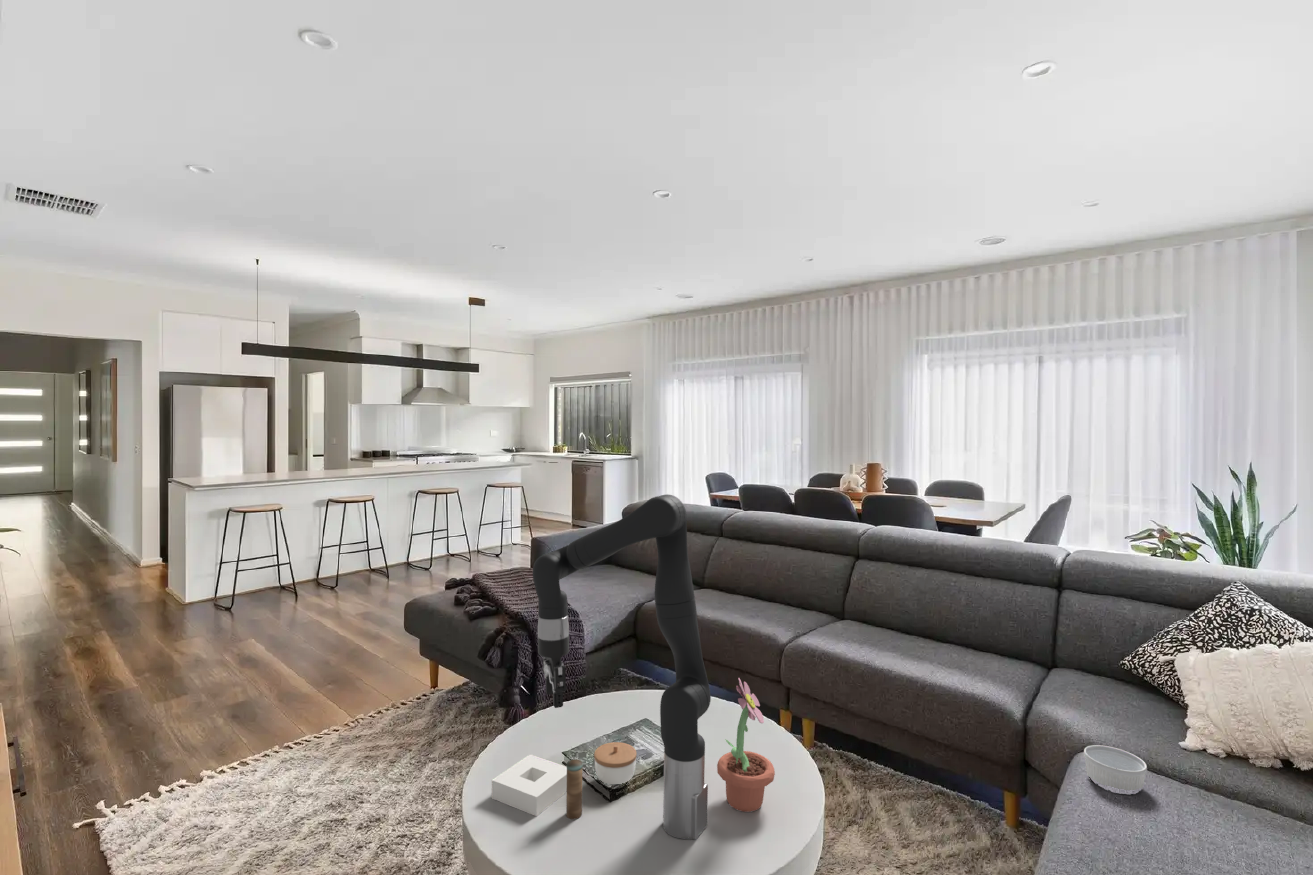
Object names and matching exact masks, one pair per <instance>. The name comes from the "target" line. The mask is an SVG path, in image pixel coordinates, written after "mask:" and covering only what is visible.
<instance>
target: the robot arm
mask: <svg viewBox="0 0 1313 875" xmlns="http://www.w3.org/2000/svg"><path fill="white" fill-rule="evenodd" d="M687 527H688V525H687V511H686V508H685V505H684V503H683V502H682V500H681V499H680V498H678V497H677V496H675V495H672V494H668V493H667V494H663V495H657V496H654V497H651V498H649V499H648V500H647V501H646V502H645V503H643V504H641V505H640V506H638V507H637V508H636V509H635V510H633V511H631V513H629V514H628V515H625V516H624V517H622V518H621V519H620V520H617V521H615V522H614V523H611V524H609V525H607V526H604V527H601V528H598V529H597V530H595V531H592V532H590V533H588V534H586V535H584V536H582V537H579V538H577V539H575V540H574V541H573V540H572V541H571V542H570V543H569V544H567V545H565V546H563V547H560V548H557V549H556V550H553V551H551V552H547V553H545V554H543V555H540V556H539V557H538V558H536V560H535V561H534V563H533V567H532V580H533V583H534V588H535V592H536V595H537V599H538V622H537V653H538V655H539V656H540V657H542V673H543V674H544V679H545V693H546V695H548V696H549V695H552V696H553V697H552V698H553V703H552V704H553V708H555V709H557V708H558V709H559V708H562V707H563V706H564V692H566V691H567V685H566V679H567V678H566V665H564V661H562V658H563V656H566V655H568V654H569V652H570V625H569V624H570V623H569V616H568V609H569V608H568V606H569V605H568V596H567V593H566V592H565V591H564V590H561V585H560V580H562V579H564V578H565V577H567V576H568V577H569V576H570V575H572V574H573V573H576V572H577V571H579V570H581V569H585V568H588V567H590V566H594V565H595V564H597V563H599V562H601V561H603V560H605V559H608V558H609V557H611V556H613V555H615V554H616V553H618V552H619V551H621V550H623V549H625V548H627V547H629V546H631V545H634V544H637V543H639V542H643V541H646V540H651V539H655V541H656V547H657V567H656V575H655V583H654V604H655V613H656V620H657V625H658V628H659V630H660V632H661V633H662V635H663V637H664V639H665V641H666V642H667V644H668V645H669V648H670V649H671V650H670V651H671V652H672V655H673V660H674V668H675V681H674V682H673V683H672V684H671V685H669V686H668V687H667V688H665V690H664V691H663V693H662V694H661V699H660V704H659V706H660V707H659V708H660V709H659V711H660V712H659V716H660V718H659V719H660V720H659V721H660V737H661V741H662V743H663V803H662V805H663V807H662V808H663V812H662V813H663V814H662V820H663V822H662V824H663V827H662V828H663V830H664V831H665V832H666V833H667V834H668V835H669V836H672V837H674V838H677V839H684V840H685V839H692V840H697V839H698V838H699V836H700V835H701V833H703V831H704V830H706V828H707V826H708V800H709V799H708V798H709V797H708V794H709V792H708V791H709V790H708V789H709V785H708V784H707V783H705V764H706V763H705V762H706V761H705V759H706V758H705V755H706V754H705V753H706V742H705V739H704V737H703V735H701V734H699V727H698V725H699V724H698V720H699V719H700V718H701V717H702V716H703V715H704V714H705V713H707V711H708V709H709V707H710V705H711V701H712V700H711V698H712V697H711V696H712V695H711V688H710V684H709V680H708V675H707V670H706V667H705V664H704V659H703V658H704V657H703V653H702V652H703V651H702V645H701V638H700V637H701V636H700V630H699V623H698V613H697V611H698V610H697V604H696V597H695V596H696V595H695V591H694V585H693V577H692V571H691V563H690V559H689V553H688V528H687ZM558 684H560V685H559V686H558Z"/></svg>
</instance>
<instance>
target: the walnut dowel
mask: <svg viewBox="0 0 1313 875" xmlns="http://www.w3.org/2000/svg"><path fill="white" fill-rule="evenodd" d="M566 767H567V792H566V800H565V801H566V805H565V806H566V807H565V808H566V812H565V815H566V818H568V819H570V820H577V819H579V818H581V817H582V815H583V768H584V765H583V761H582V760H580V759H571V760H568V761H567V762H566Z"/></svg>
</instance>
